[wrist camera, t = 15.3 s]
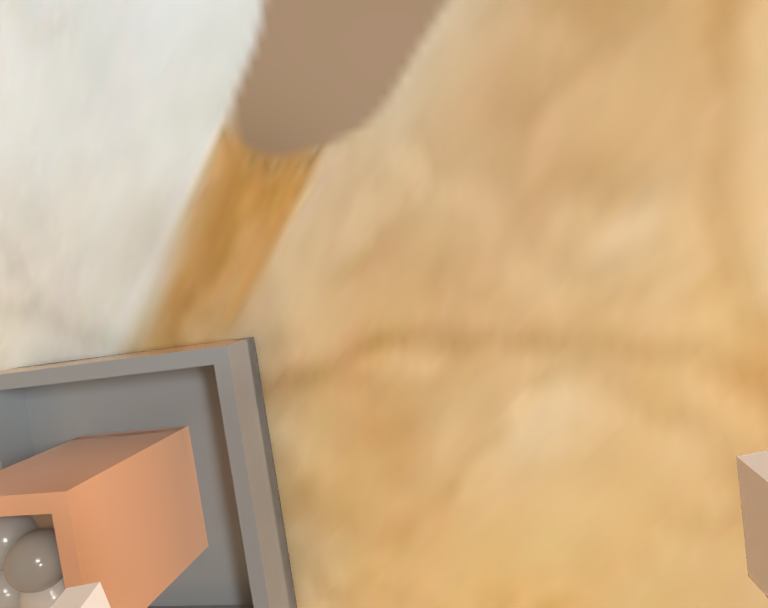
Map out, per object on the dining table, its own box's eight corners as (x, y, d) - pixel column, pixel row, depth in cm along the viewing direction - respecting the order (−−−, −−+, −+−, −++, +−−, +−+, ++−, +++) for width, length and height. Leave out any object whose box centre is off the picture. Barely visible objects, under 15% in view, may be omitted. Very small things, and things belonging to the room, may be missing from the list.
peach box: (82, 435, 36) (-94, 510, 25) (188, 425, 34) (48, 500, 23) (102, 550, 36) (-63, 672, 25) (208, 546, 35) (79, 674, 24)
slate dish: (19, 367, 38) (-28, 378, 34) (253, 337, 34) (226, 345, 30) (64, 612, 39) (22, 646, 35) (297, 609, 35) (275, 647, 31)
